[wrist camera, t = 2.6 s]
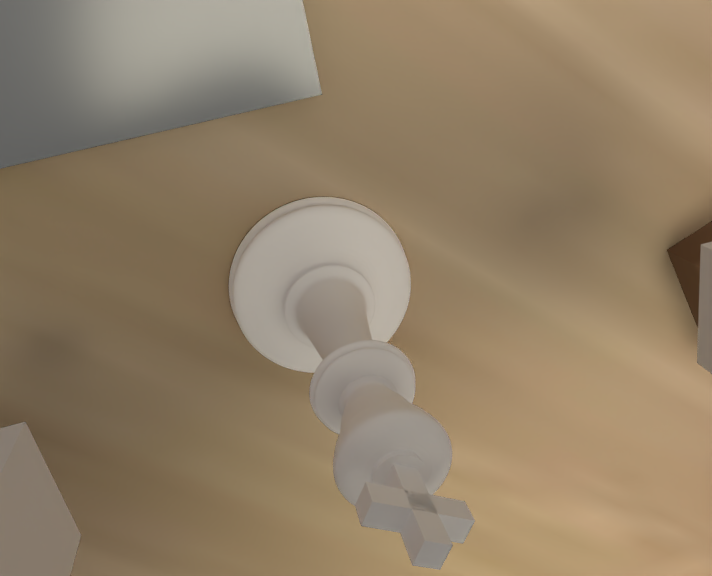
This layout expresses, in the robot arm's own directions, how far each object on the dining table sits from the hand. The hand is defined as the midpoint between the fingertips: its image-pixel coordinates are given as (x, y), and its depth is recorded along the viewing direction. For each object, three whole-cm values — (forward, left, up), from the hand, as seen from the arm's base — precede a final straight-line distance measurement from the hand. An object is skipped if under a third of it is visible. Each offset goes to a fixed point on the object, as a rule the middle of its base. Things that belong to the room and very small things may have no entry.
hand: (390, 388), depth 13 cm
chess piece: (0, 0, -6) cm, 6 cm away
